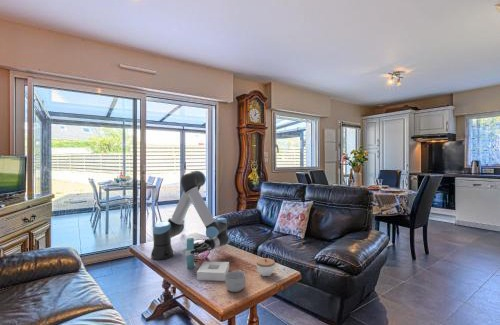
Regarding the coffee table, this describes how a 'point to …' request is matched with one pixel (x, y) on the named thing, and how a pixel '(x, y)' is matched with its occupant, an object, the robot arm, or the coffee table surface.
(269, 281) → the coffee table surface
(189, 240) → the peg
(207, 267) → the socket block
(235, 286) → the teacup
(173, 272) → the coffee table surface
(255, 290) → the coffee table surface
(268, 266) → the lidded jar
